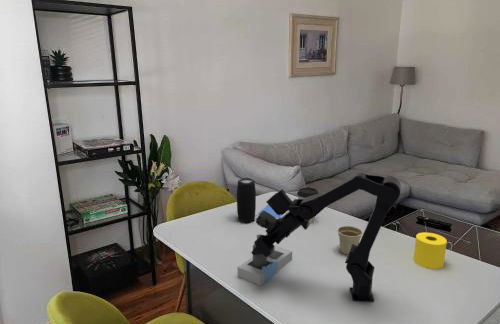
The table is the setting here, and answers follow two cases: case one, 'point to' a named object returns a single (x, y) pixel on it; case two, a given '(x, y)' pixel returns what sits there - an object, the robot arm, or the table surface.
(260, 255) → the plug
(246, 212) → the portable speaker
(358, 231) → the flower pot
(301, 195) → the coffee cup
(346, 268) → the robot arm
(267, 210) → the blue flat slab
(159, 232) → the table surface
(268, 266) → the cinder block
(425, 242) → the yellow toilet paper roll
